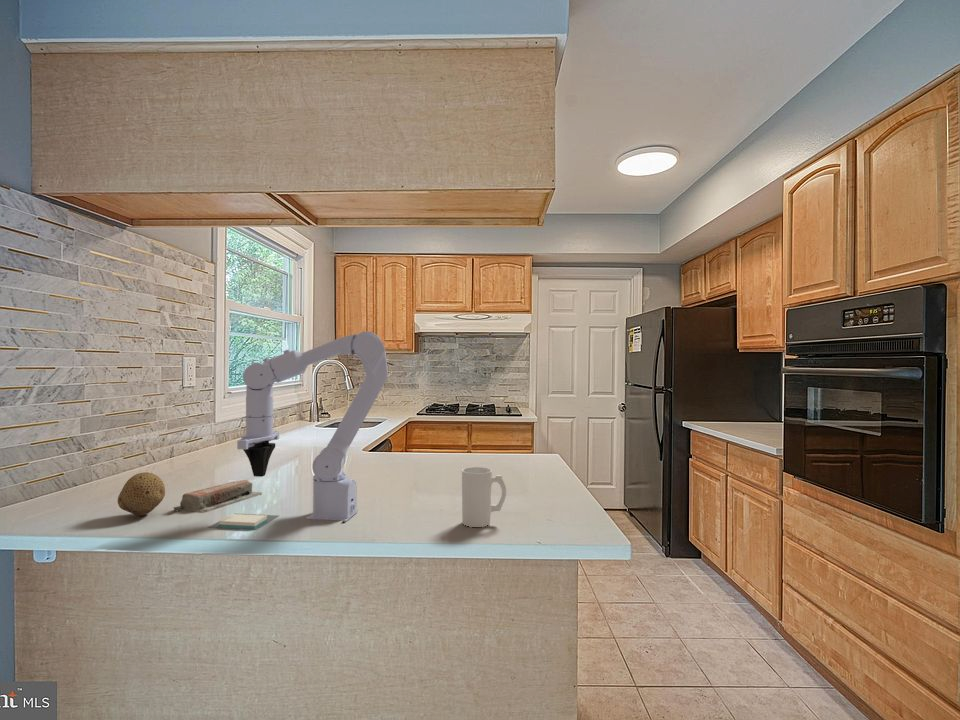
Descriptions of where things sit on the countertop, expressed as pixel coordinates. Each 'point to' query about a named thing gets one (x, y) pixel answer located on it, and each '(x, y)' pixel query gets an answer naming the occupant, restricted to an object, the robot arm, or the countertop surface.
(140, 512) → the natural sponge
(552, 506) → the countertop surface
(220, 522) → the tile
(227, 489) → the old brick
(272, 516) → the mat
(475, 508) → the mug
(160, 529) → the countertop surface
